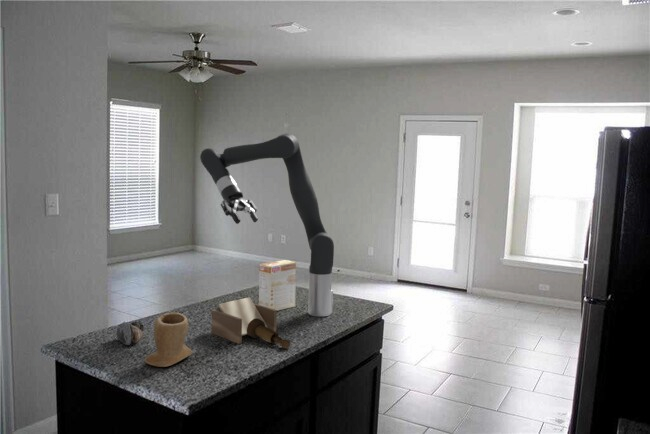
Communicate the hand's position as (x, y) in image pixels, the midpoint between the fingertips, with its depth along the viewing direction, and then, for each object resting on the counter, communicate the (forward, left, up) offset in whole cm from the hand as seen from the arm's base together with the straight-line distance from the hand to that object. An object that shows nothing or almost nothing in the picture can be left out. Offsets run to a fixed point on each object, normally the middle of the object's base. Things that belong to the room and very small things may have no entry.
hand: (247, 221), depth 210 cm
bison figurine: (+43, -7, -39) cm, 59 cm away
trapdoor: (+11, +7, -37) cm, 39 cm away
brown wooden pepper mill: (+10, +17, -35) cm, 40 cm away
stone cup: (+44, +18, -39) cm, 61 cm away
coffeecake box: (-21, -5, -39) cm, 45 cm away
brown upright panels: (+11, +11, -39) cm, 42 cm away
